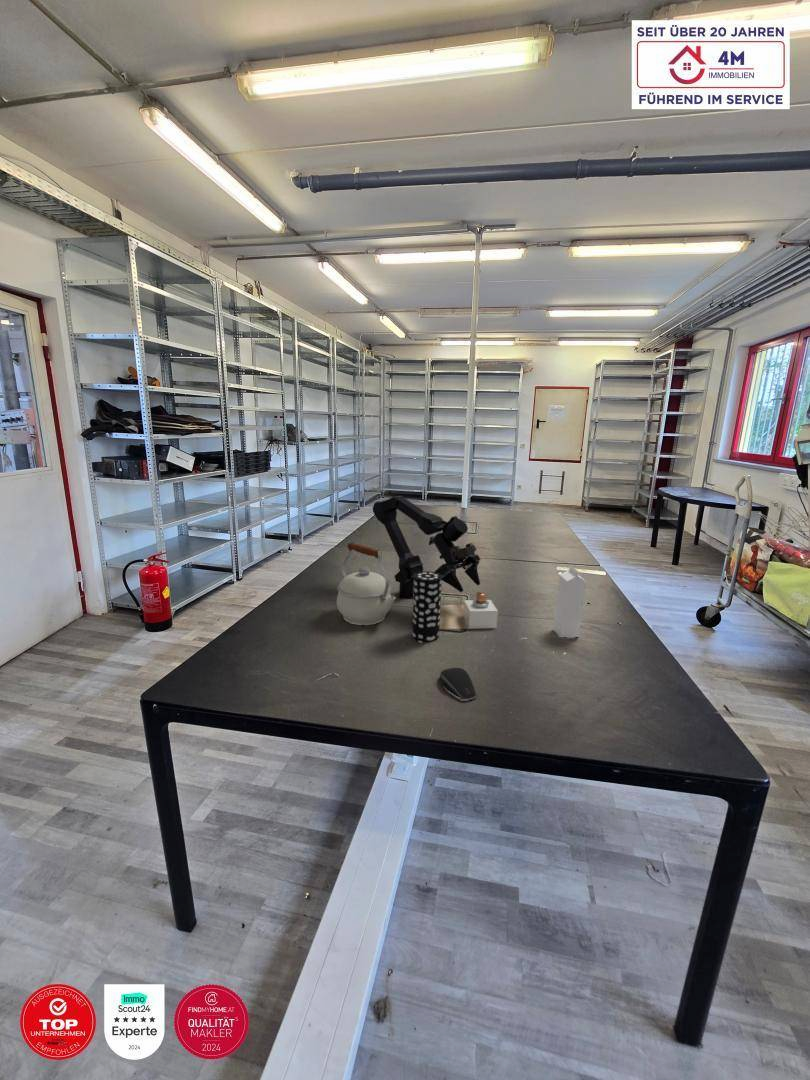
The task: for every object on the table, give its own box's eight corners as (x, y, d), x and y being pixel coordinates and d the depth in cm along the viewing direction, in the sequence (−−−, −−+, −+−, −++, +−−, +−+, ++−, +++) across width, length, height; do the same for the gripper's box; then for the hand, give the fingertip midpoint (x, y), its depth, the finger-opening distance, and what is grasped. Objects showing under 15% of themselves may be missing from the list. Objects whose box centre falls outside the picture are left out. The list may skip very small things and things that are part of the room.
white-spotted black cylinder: (442, 634, 138) (445, 574, 133) (433, 646, 130) (435, 582, 125) (418, 628, 141) (420, 569, 136) (407, 639, 134) (409, 577, 129)
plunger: (473, 622, 143) (475, 596, 140) (470, 616, 148) (471, 590, 145) (489, 622, 143) (491, 596, 141) (485, 615, 148) (487, 590, 146)
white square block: (468, 628, 141) (470, 611, 139) (463, 616, 150) (464, 600, 148) (496, 628, 142) (497, 610, 140) (489, 616, 150) (490, 599, 149)
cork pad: (437, 630, 140) (437, 628, 140) (430, 606, 159) (430, 604, 159) (496, 629, 142) (496, 628, 142) (482, 605, 160) (482, 604, 160)
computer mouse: (457, 705, 104) (458, 690, 103) (434, 678, 114) (434, 664, 113) (482, 698, 106) (483, 684, 105) (457, 672, 117) (458, 659, 116)
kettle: (322, 615, 150) (320, 544, 143) (363, 600, 163) (362, 535, 156) (372, 640, 133) (373, 561, 127) (413, 621, 146) (415, 549, 140)
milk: (570, 629, 143) (579, 565, 138) (578, 638, 137) (588, 571, 132) (552, 629, 143) (560, 564, 137) (559, 638, 137) (568, 571, 131)
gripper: (443, 540, 138) (468, 583, 134) (478, 531, 151) (502, 570, 147) (423, 558, 146) (447, 599, 141) (458, 548, 159) (481, 585, 154)
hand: (470, 588), depth 146 cm, fingers open, 9 cm apart
